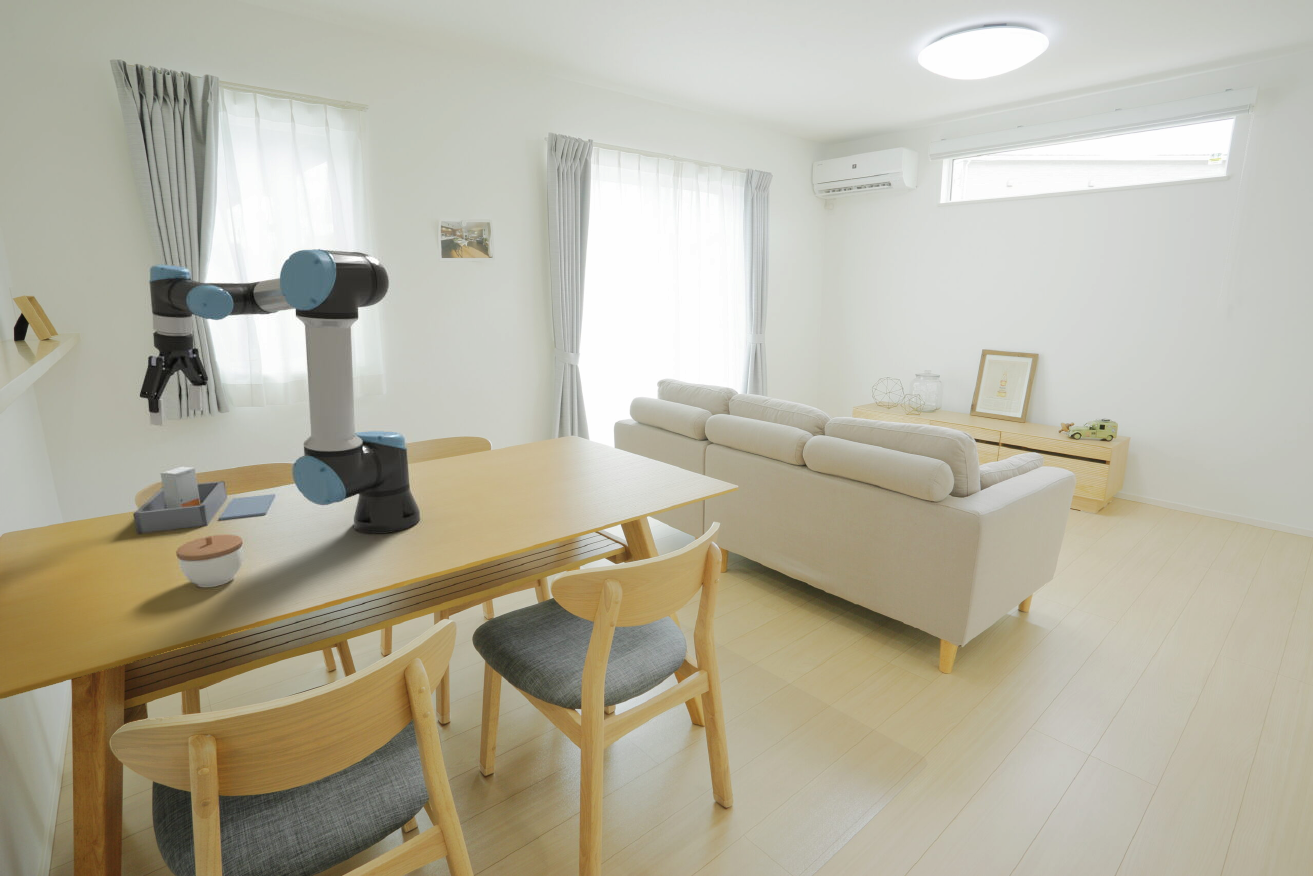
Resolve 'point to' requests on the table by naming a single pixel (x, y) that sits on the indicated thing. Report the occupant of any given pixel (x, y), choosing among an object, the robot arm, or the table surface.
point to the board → (248, 506)
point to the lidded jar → (211, 559)
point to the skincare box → (180, 487)
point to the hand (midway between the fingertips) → (177, 417)
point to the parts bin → (180, 510)
